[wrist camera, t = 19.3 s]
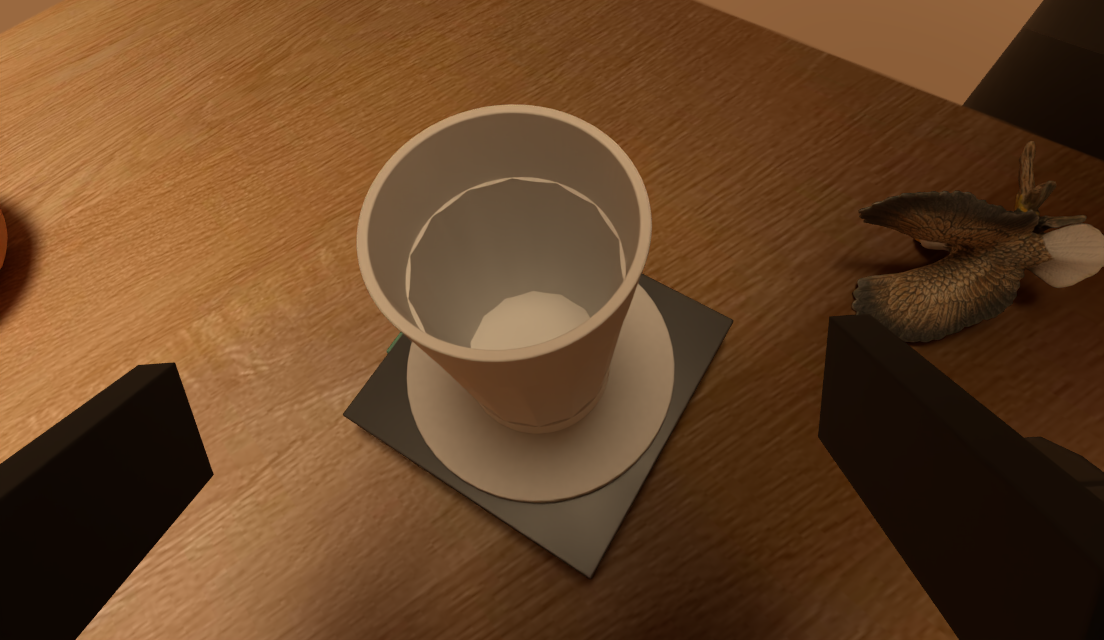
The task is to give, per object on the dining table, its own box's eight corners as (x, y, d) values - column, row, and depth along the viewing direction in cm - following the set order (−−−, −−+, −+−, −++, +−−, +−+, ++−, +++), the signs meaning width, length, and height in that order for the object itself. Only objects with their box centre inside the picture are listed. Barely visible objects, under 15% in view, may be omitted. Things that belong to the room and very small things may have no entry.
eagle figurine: (953, 155, 33) (818, 203, 30) (1111, 125, 26) (956, 183, 23) (978, 293, 34) (852, 350, 32) (1135, 298, 27) (991, 371, 25)
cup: (413, 374, 28) (296, 240, 17) (531, 252, 30) (495, 61, 19) (547, 493, 26) (511, 427, 15) (665, 352, 28) (712, 201, 17)
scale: (724, 338, 31) (736, 314, 28) (590, 579, 27) (590, 579, 24) (500, 222, 34) (492, 191, 32) (353, 422, 30) (329, 406, 28)
